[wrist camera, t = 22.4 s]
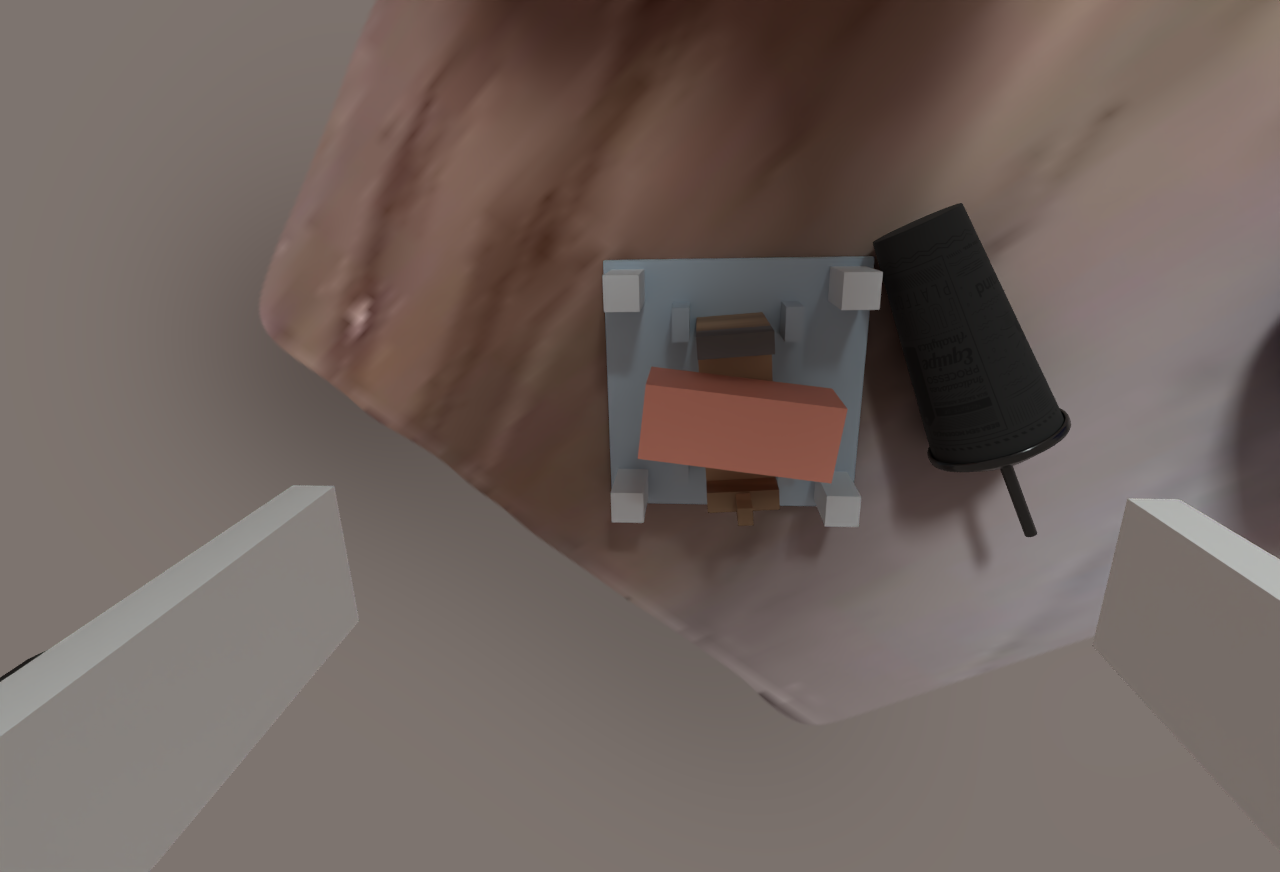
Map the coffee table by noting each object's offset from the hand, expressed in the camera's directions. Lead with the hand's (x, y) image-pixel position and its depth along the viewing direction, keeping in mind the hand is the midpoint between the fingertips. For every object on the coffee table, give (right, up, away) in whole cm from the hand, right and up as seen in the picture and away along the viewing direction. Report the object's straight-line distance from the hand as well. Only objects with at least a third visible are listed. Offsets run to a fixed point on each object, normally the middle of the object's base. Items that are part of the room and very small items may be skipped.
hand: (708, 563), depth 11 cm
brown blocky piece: (+5, +5, +30) cm, 31 cm away
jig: (+5, +5, +31) cm, 32 cm away
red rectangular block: (+4, +4, +26) cm, 26 cm away
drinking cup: (+14, +14, +25) cm, 32 cm away
